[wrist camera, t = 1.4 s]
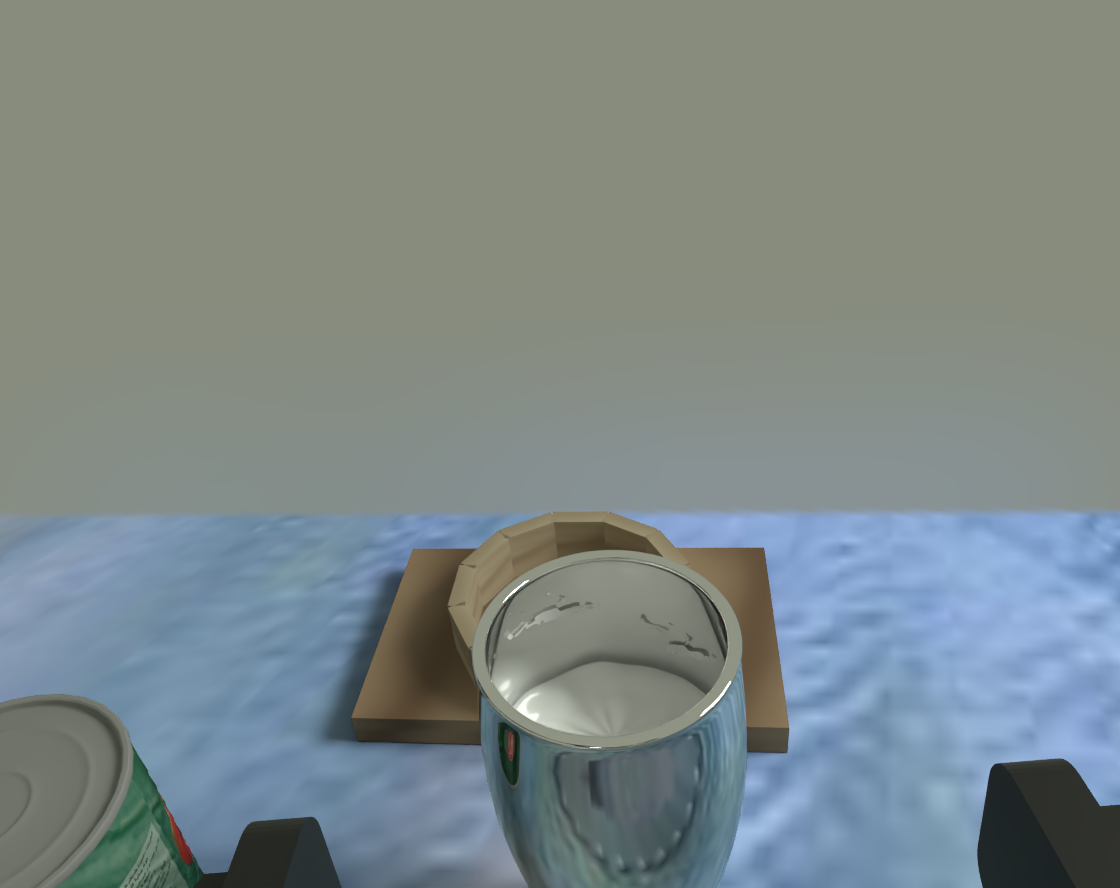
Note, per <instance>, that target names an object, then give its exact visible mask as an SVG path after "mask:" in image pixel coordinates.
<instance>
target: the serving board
mask: <svg viewBox="0 0 1120 888" xmlns="http://www.w3.org/2000/svg"><path fill="white" fill-rule="evenodd" d="M598 550H627V551H636V552H643V553H648V554H653V555H657V556H660V557H664V558H667V559H670V560H672V561H675V562H677V563H680V564H682V565H684V566H686V567H688V568H690V569H692V570H693V571H695V572H697V573H698V574H700V575H701V576H703V577H704V578H705V579H707V580H708V581H709V582H710V583H712V584H713V585H714V586H715V587H716V588H717V589H718V590H719V591H720V592H721V593H722V595H723V596H724V597H725V598H726V600H727V601H728V602H729V604H730V606H731V607H732V609H733V611H734V613H735V615H736V617H737V620H738V623H739V626H740V630H741V635H742V670H743V680H744V689H745V703H746V717H747V751H749V752H787V750H788V737H789V723H788V715H787V708H786V701H785V694H784V687H783V680H782V673H781V665H780V658H779V651H778V644H777V637H776V630H775V623H774V616H773V608H772V601H771V594H770V587H769V580H768V573H767V566H766V558H765V551H764V548H675V547H674V546H673V544H672V543H671V542H670V541H669V540H668V539H667V538H666V537H665V536H664V535H663V534H662V532H661V531H660V530H659V531H658V529H656V528H653V527H650V526H648V525H645V524H642V523H639V522H636V521H634V520H631V519H628V518H625V517H622V516H620V515H617V514H614V513H611V512H609V513H608V514H607V512H553V514H551V513H547V514H544V515H541V516H539V517H536V518H533V519H530V520H527V521H524V522H521V523H518V524H515V525H512V526H510V527H507V528H504V529H501V530H500V532H498V531H497V532H496V533H495V534H493V535H492V536H491V537H490V538H489V539H488V540H487V541H485V542H484V543H483V544H482V545H481V546H480V547H479V548H477V549H413V550H412V553H411V556H410V558H409V561H408V564H407V567H406V569H405V572H404V575H403V578H402V580H401V583H400V586H399V588H398V591H397V594H396V597H395V599H394V602H393V605H392V608H391V610H390V613H389V616H388V618H387V621H386V624H385V627H384V629H383V632H382V635H381V638H380V640H379V643H378V646H377V648H376V651H375V654H374V657H373V659H372V662H371V665H370V668H369V670H368V673H367V676H366V679H365V681H364V684H363V687H362V689H361V692H360V695H359V698H358V700H357V703H356V706H355V709H354V711H353V714H352V717H351V719H352V722H353V725H354V729H355V732H356V735H357V738H358V741H370V742H408V743H446V744H481V737H480V727H479V717H478V705H477V690H476V678H475V675H474V671H473V665H472V645H473V639H474V634H475V631H476V628H477V625H478V623H479V621H480V619H481V617H482V615H483V613H484V612H485V610H486V608H487V607H488V606H489V604H490V603H491V602H492V600H493V599H494V598H495V597H496V596H497V595H498V594H499V593H500V592H501V591H502V590H503V589H504V588H505V587H506V586H507V585H509V584H510V583H511V582H512V581H514V580H515V579H516V578H518V577H519V576H521V575H523V574H524V573H526V572H528V571H529V570H531V569H533V568H535V567H537V566H539V565H542V564H544V563H546V562H549V561H552V560H554V559H557V558H561V557H564V556H568V555H572V554H577V553H582V552H589V551H598Z"/></svg>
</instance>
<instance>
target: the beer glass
mask: <svg viewBox="0 0 1120 888" xmlns="http://www.w3.org/2000/svg"><path fill="white" fill-rule="evenodd" d="M472 665H473V671H474V675H475V678H476V690H477V705H478V717H479V727H480V737H481V746H482V752H483V758H484V764H485V770H486V776H487V782H488V786H489V790H490V793H491V797H492V801H493V805H494V809H495V812H496V816H497V820H498V822H499V825H500V828H501V830H502V832H503V835H504V837H505V840H506V842H507V844H508V847H509V849H510V851H511V854H512V856H513V858H514V861H515V863H516V864H517V866H518V868H519V870H520V872H521V874H522V876H523V878H524V880H525V882H526V884H527V885H528V887H529V888H719V886H720V883H721V880H722V877H723V875H724V872H725V869H726V866H727V863H728V860H729V857H730V854H731V851H732V848H733V844H734V841H735V837H736V833H737V828H738V824H739V820H740V816H741V812H742V807H743V801H744V791H745V780H746V769H747V717H746V703H745V689H744V680H743V670H742V635H741V630H740V626H739V623H738V620H737V617H736V615H735V613H734V611H733V609H732V607H731V606H730V604H729V602H728V601H727V600H726V598H725V597H724V596H723V595H722V593H721V592H720V591H719V590H718V589H717V588H716V587H715V586H714V585H713V584H712V583H710V582H709V581H708V580H707V579H705V578H704V577H703V576H701V575H700V574H698V573H697V572H695V571H693V570H692V569H690V568H688V567H686V566H684V565H682V564H680V563H677V562H675V561H672V560H670V559H667V558H664V557H660V556H657V555H653V554H648V553H643V552H636V551H627V550H598V551H589V552H582V553H577V554H572V555H568V556H564V557H561V558H557V559H554V560H552V561H549V562H546V563H544V564H542V565H539V566H537V567H535V568H533V569H531V570H529V571H528V572H526V573H524V574H523V575H521V576H519V577H518V578H516V579H515V580H514V581H512V582H511V583H510V584H509V585H507V586H506V587H505V588H504V589H503V590H502V591H501V592H500V593H499V594H498V595H497V596H496V597H495V598H494V599H493V600H492V602H491V603H490V604H489V606H488V607H487V608H486V610H485V612H484V613H483V615H482V617H481V619H480V621H479V623H478V625H477V628H476V631H475V634H474V639H473V645H472Z"/></svg>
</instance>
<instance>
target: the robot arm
mask: <svg viewBox="0 0 1120 888" xmlns="http://www.w3.org/2000/svg"><path fill="white" fill-rule="evenodd" d="M977 857H978V866H979V873H980V878H981V882H982V886H983V888H1120V805H1110V806H1100V805H1099V804H1098V802H1097V801H1096V799H1095V798H1094V796H1093V795H1092V793H1091V792H1090V790H1089V789H1088V787H1087V786H1086V784H1085V782H1084V781H1083V779H1082V778H1081V776H1080V775H1079V773H1078V772H1077V771H1076V769H1075V768H1074V767H1073V766H1072V765H1071V764H1070V763H1069V762H1068V761H1066V760H1064V759H1047V760H1034V761H1022V762H1010V763H998V764H994V765H993V766H992V768H991V770H990V774H989V780H988V786H987V792H986V798H985V805H984V811H983V817H982V823H981V829H980V836H979V842H978V850H977ZM193 888H341V885H340V882H339V879H338V876H337V873H336V871H335V868H334V865H333V862H332V859H331V856H330V854H329V851H328V848H327V845H326V842H325V839H324V837H323V834H322V831H321V828H320V825H319V823H318V821H317V820H316V819H315V818H314V817H304V818H292V819H280V820H267V821H255V822H251V823H250V824H249V825H248V826H247V827H246V828H245V830H244V831H243V833H242V836H241V838H240V840H239V843H238V846H237V849H236V851H235V854H234V857H233V860H232V862H231V865H230V868H229V871H228V872H225V873H212V874H204V875H203V876H202V877H201V879H200V880H199V881H198V882H197V884H196V885H195V886H194V887H193Z"/></svg>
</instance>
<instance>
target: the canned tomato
mask: <svg viewBox="0 0 1120 888" xmlns="http://www.w3.org/2000/svg"><path fill="white" fill-rule="evenodd" d="M203 875H204V873H203V872H202V870H201V869H200V867H199V866H198V863H197V860H196V859H195V857H194V856H193V854H192V853H191V851H190V848H189V846H188V844H187V843H186V841H185V840H184V838H183V836H182V833H181V831H180V829H179V828H178V826H177V825H176V823H175V822H174V818H173V816H172V815H171V813H170V812H169V810H168V809H167V807H166V804H165V801H164V800H163V798H162V797H161V795H160V794H159V792H158V790H157V787H156V785H155V783H154V782H153V780H152V779H151V777H150V776H149V774H148V770H147V768H146V767H145V765H144V764H143V762H142V761H141V759H140V758H139V756H138V754H137V752H136V751H135V749H134V747H133V745H132V743H131V740H130V737H129V733H128V731H127V729H126V728H125V726H124V725H123V723H122V722H121V720H120V719H119V717H118V716H117V715H116V714H115V713H114V712H112V711H111V710H110V709H108V708H107V707H106V706H104V705H103V704H101V703H98V702H96V701H93V700H90V699H88V698H85V697H80V696H72V695H65V694H52V695H35V696H29V697H24V698H18V699H13V700H9V701H6V702H2V703H0V888H193V887H194V886H195V885H196V884H197V882H198V881H199V880H200V879H201V877H202V876H203Z"/></svg>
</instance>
